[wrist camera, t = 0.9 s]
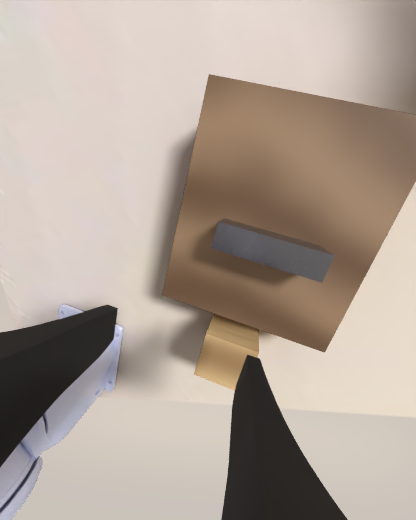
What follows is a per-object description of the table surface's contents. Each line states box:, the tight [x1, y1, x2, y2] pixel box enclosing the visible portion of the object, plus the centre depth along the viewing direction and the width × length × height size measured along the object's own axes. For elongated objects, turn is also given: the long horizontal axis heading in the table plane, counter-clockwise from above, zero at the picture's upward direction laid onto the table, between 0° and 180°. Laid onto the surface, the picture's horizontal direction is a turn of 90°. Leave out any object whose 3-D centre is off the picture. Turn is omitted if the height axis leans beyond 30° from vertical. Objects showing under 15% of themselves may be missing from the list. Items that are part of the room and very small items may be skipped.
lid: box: [162, 74, 416, 352], centre depth 12 cm, size 14×12×4 cm
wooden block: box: [194, 313, 259, 390], centre depth 19 cm, size 4×4×5 cm
